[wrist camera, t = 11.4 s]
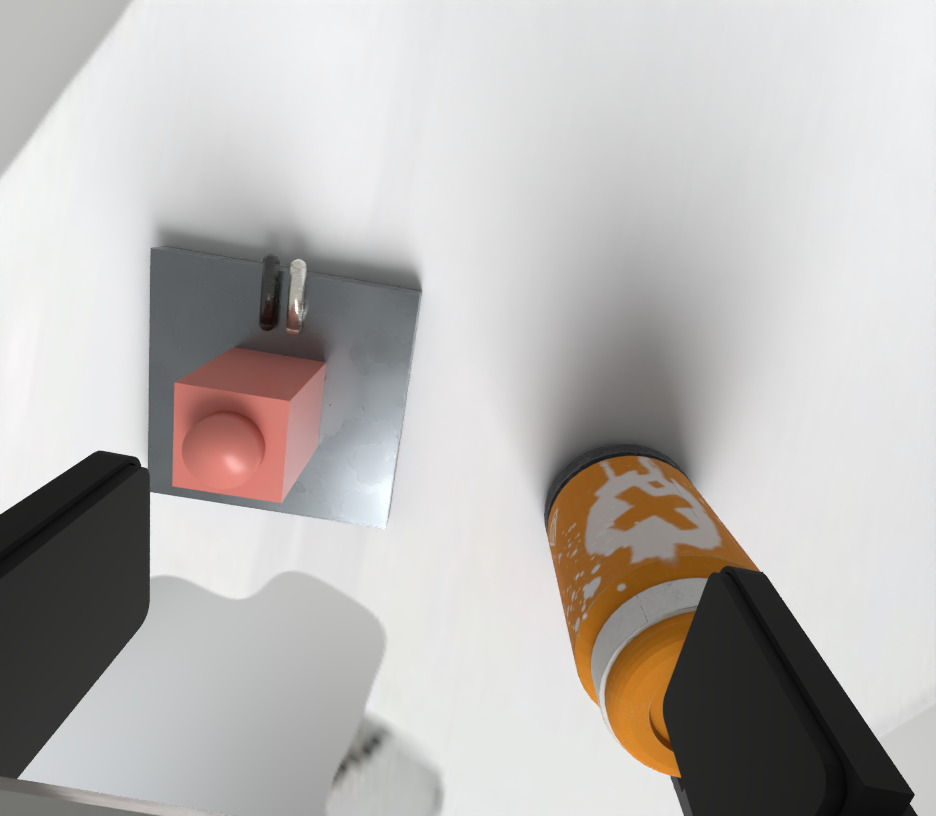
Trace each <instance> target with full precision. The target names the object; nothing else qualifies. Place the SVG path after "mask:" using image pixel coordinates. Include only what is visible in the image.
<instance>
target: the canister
mask: <svg viewBox="0 0 936 816" xmlns="http://www.w3.org/2000/svg"><path fill="white" fill-rule="evenodd" d="M544 516H545V527H546V532H547V536H548V541H549V545H550V550H551V554H552V559H553V564H554V568H555V573H556V577H557V582H558V586H559V591H560V596H561V600H562V605H563V609H564V614H565V618H566V623H567V627H568V632H569V637H570V641H571V646H572V650H573V655H574V659H575V664H576V668H577V672H578V676H579V678H580V681H581V683H582V685H583V687H584V689H585V690H586V692H587V693H588V695H589V696H590V698H591V699H592V700H593V701H594V702H595V703H596V704H597V705H598V706H599V707H600V710H601V714H602V717H603V720H604V722H605V724H606V726H607V728H608V730H609V731H610V733H611V734H612V736H613V737H614V739H615V740H616V741H617V742H618V743H619V744H620V745H621V746H622V747H623V748H624V749H626V750H627V751H628V752H629V753H630V754H631V755H632V756H633V757H634V758H636V759H637V760H638V761H640V762H641V763H643V764H644V765H646V766H648V767H650V768H652V769H654V770H656V771H658V772H661V773H664V774H667V775H670V776H671V780H672V782H673V785H674V789H675V791H676V794H677V796H678V799H679V802H680V805H681V808H682V811H683V814H684V816H693V815H692V811H691V808H690V805H689V801H688V798H687V795H686V792H685V788H684V785H683V782H682V778H681V775H680V772H679V769H678V765H677V762H676V759H675V755H674V752H673V749H672V746H671V742H670V739H669V736H668V732H667V729H666V726H665V723H664V718H663V699H664V696H665V693H666V690H667V687H668V684H669V682H670V679H671V676H672V674H673V671H674V668H675V666H676V663H677V660H678V657H679V655H680V652H681V649H682V647H683V644H684V641H685V639H686V636H687V633H688V631H689V628H690V625H691V622H692V620H693V617H694V614H695V612H696V609H697V606H698V604H699V601H700V598H701V596H702V593H703V590H704V587H705V585H706V582H707V580H708V578H709V576H710V575H711V573H713V572H717V573H719V572H720V571H721V569H722V568H723V567H725V566H733V567H738V568H744V569H749V570H755V571H759V569H758V568H757V567H756V565H755V564H754V563H753V562H752V560H751V559H750V558H749V556H748V555H747V554H746V553H745V551H744V550H743V549H742V547H741V546H740V545H739V543H738V542H737V541H736V540H735V538H734V537H733V536H732V534H731V533H730V532H729V531H728V529H727V528H726V527H725V525H724V524H723V523H722V522H721V520H720V519H719V518H718V516H717V515H716V514H715V513H714V511H713V510H712V509H711V507H710V506H709V505H708V504H707V502H706V501H705V500H704V498H703V497H702V496H701V495H700V493H699V492H698V491H697V489H696V488H695V487H694V486H693V484H692V483H691V482H690V480H689V479H688V478H687V477H686V475H685V474H684V473H683V471H682V470H681V469H680V468H679V467H678V465H676V464H675V463H674V462H673V461H672V460H671V459H669V458H668V457H666V456H665V455H663V454H661V453H660V452H657V451H655V450H652V449H650V448H647V447H642V446H637V445H625V444H623V445H611V446H607V447H603V448H599V449H596V450H594V451H591V452H588V453H587V454H585V455H583V456H581V457H579V458H578V459H576V460H575V461H574V462H572V463H571V464H570V465H569V466H568V467H567V468H566V469H565V470H564V471H563V472H562V473H561V474H560V475H559V477H558V478H557V479H556V481H555V482H554V484H553V486H552V488H551V490H550V492H549V494H548V498H547V501H546V505H545V514H544Z"/></svg>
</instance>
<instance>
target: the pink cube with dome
mask: <svg viewBox="0 0 936 816" xmlns="http://www.w3.org/2000/svg"><path fill="white" fill-rule="evenodd" d="M325 369H326V362H321V361H315V360H309V359H303V358H297V357H291V356H284V355H278V354H272V353H266V352H260V351H254V350H248V349H242V348H236V347H233V348H232V349H230V350H228V351H227V352H225V353H223V354H222V355H220V356H218V357H217V358H215V359H213V360H212V361H210V362H208V363H207V364H205V365H203V366H202V367H200V368H198V369H197V370H195V371H193V372H191V373H190V374H188V375H186V376H185V377H183V378H181V379H180V380H178V381H176V382H175V385H174V432H173V479H172V486H174V487H180V488H187V489H193V490H200V491H206V492H213V493H219V494H225V495H232V496H238V497H245V498H251V499H258V500H264V501H271V502H277V503H282V502H283V500H284V498H285V497H286V495H287V494H288V492H289V491H290V489H291V488H292V486H293V484H294V483H295V481H296V480H297V478H298V477H299V475H300V474H301V472H302V470H303V469H304V467H305V466H306V464H307V463H308V461H309V460H310V458H311V456H312V455H313V453H314V452H315V450H316V449H317V447H318V439H319V429H320V419H321V409H322V399H323V389H324V379H325Z"/></svg>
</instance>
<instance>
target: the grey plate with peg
mask: <svg viewBox="0 0 936 816" xmlns="http://www.w3.org/2000/svg"><path fill="white" fill-rule="evenodd" d="M306 270H307V266H306V263H305V262H304V261H303V260H301V259H295V260H293V261H292V263H291V266H290V268H287V267H282V266H279V259H278V257H277V256H275V255H273V254H268V255H266V256H265V257H264V259H263V263H259V262H253V261H247V260H241V259H236V258H230V257H224V256H218V255H213V254H207V253H201V252H195V251H190V250H184V249H178V248H172V247H167V246H162V247H154V248H151V265H150V348H149V432H148V471H149V474H150V492H154V493H160V494H167V495H173V496H179V497H186V498H192V499H199V500H205V501H211V502H218V503H224V504H230V505H237V506H243V507H249V508H256V509H262V510H269V511H275V512H281V513H288V514H294V515H300V516H307V517H313V518H320V519H326V520H332V521H339V522H345V523H351V524H358V525H364V526H370V527H377V528H383V529H386V525H387V522H388V518H389V512H390V506H391V499H392V492H393V485H394V479H395V472H396V465H397V458H398V452H399V445H400V438H401V431H402V424H403V418H404V411H405V404H406V397H407V391H408V384H409V377H410V370H411V364H412V357H413V350H414V343H415V336H416V330H417V323H418V316H419V309H420V303H421V296H422V291H419V290H413V289H408V288H402V287H396V286H391V285H385V284H379V283H373V282H368V281H362V280H356V279H350V278H345V277H339V276H333V275H327V274H322V273H316V272H310V271H306ZM233 347H236V348H242V349H248V350H254V351H260V352H266V353H272V354H278V355H284V356H291V357H297V358H303V359H309V360H315V361H321V362H326V369H325V379H324V389H323V399H322V409H321V419H320V429H319V439H318V447H317V449H316V450H315V452H314V453H313V455H312V456H311V458H310V460H309V461H308V463H307V464H306V466H305V467H304V469H303V470H302V472H301V474H300V475H299V477H298V478H297V480H296V481H295V483H294V484H293V486H292V488H291V489H290V491H289V492H288V494H287V495H286V497H285V498H284V500H283V502H282V503H277V502H271V501H264V500H258V499H251V498H245V497H238V496H232V495H225V494H219V493H213V492H206V491H200V490H193V489H187V488H180V487H174V486H172V479H173V432H174V385H175V382H176V381H178V380H180V379H181V378H183V377H185V376H186V375H188V374H190V373H191V372H193V371H195V370H197V369H198V368H200V367H202V366H203V365H205V364H207V363H208V362H210V361H212V360H213V359H215V358H217V357H218V356H220V355H222V354H223V353H225V352H227V351H228V350H230V349H232V348H233Z"/></svg>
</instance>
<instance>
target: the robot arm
mask: <svg viewBox="0 0 936 816" xmlns="http://www.w3.org/2000/svg"><path fill="white" fill-rule="evenodd" d="M149 602H150V474H149V471H148V469H147V468H144V467H141V464H140V461H139V459H138V458H136V457H133V456H128V455H122V454H117V453H112V452H106V451H97V452H94V453H93V454H91V455H90V456H88V457H87V458H85V459H84V460H82V461H81V462H79V463H78V464H76V465H75V466H73V467H72V468H70V469H69V470H67V471H65V472H64V473H62V474H61V475H59V476H58V477H56V478H55V479H53V480H52V481H50V482H49V483H47V484H46V485H44V486H43V487H41V488H40V489H38V490H37V491H35V492H34V493H32V494H31V495H29V496H28V497H26V498H25V499H23V500H22V501H20V502H19V503H17V504H16V505H14V506H13V507H11V508H10V509H8V510H6V511H5V512H3V513H2V514H0V816H233V815H228V814H222V813H216V812H209V811H204V810H198V809H192V808H185V807H180V806H174V805H168V804H162V803H157V802H151V801H145V800H139V799H133V798H127V797H121V796H115V795H109V794H103V793H98V792H92V791H85V790H80V789H73V788H68V787H62V786H56V785H49V784H44V783H38V782H32V781H26V780H19V779H17V778H18V777H19V776H20V774H21V773H22V772H23V771H24V769H25V768H26V767H27V766H28V764H29V763H30V762H31V761H32V760H33V759H34V757H35V756H36V755H37V753H38V752H39V751H40V750H41V749H42V747H43V746H44V745H45V744H46V742H47V741H48V740H49V739H50V738H51V736H52V735H53V734H54V733H55V731H56V730H57V729H58V728H59V727H60V725H61V724H62V723H63V722H64V720H65V719H66V718H67V717H68V715H69V714H70V713H71V712H72V711H73V709H74V708H75V707H76V706H77V704H78V703H79V702H80V701H81V699H82V698H83V697H84V696H85V695H86V693H87V692H88V691H89V690H90V688H91V687H92V686H93V685H94V683H95V682H96V681H97V680H98V679H99V677H100V676H101V675H102V674H103V672H104V671H105V670H106V669H107V667H108V666H109V665H110V664H111V663H112V661H113V660H114V659H115V658H116V656H117V655H118V654H119V653H120V651H121V650H122V649H123V648H124V647H125V645H126V644H127V643H128V642H129V640H130V639H131V638H132V637H133V636H134V634H135V633H136V632H137V631H138V629H139V628H140V627H141V625H142V624H143V622H144V620H145V618H146V616H147V613H148V609H149ZM663 718H664V723H665V726H666V729H667V732H668V736H669V739H670V742H671V746H672V749H673V752H674V755H675V759H676V762H677V765H678V769H679V772H680V775H681V778H682V782H683V785H684V788H685V792H686V795H687V798H688V801H689V805H690V808H691V811H692V815H693V816H918V815H917V814H916V813H915V811H914V810H913V808H912V806H911V805H910V802H911V800H912V799H913V797H914V795H915V794H914V793H913V791H912V790H911V788H910V787H909V785H908V784H907V782H906V781H905V780H904V778H903V777H902V775H901V774H900V772H899V771H898V769H897V768H896V766H895V765H894V764H893V762H892V760H891V759H890V757H889V756H888V755H887V753H886V751H885V750H884V749H883V747H882V746H881V744H880V743H879V741H878V740H877V738H876V737H875V735H874V734H873V732H872V731H871V729H870V728H869V726H868V725H867V723H866V722H865V721H864V719H863V718H862V716H861V715H860V713H859V712H858V710H857V709H856V707H855V706H854V704H853V703H852V701H851V700H850V698H849V697H848V695H847V694H846V692H845V691H844V690H843V688H842V687H841V685H840V684H839V682H838V681H837V679H836V678H835V676H834V675H833V673H832V672H831V670H830V669H829V667H828V666H827V664H826V663H825V662H824V660H823V659H822V657H821V656H820V654H819V653H818V651H817V650H816V648H815V647H814V645H813V644H812V642H811V641H810V639H809V638H808V636H807V635H806V634H805V632H804V631H803V629H802V628H801V626H800V625H799V623H798V622H797V620H796V619H795V617H794V616H793V614H792V613H791V611H790V610H789V608H788V607H787V606H786V604H785V603H784V601H783V600H782V598H781V597H780V595H779V594H778V592H777V591H776V589H775V588H774V586H773V585H772V583H771V582H770V580H769V579H768V578H767V576H766V575H765V574H764V573H763V572H760V571H755V570H749V569H744V568H738V567H733V566H725V567H723V568H722V569H721V571H720V572H719V573H717V572H713V573H711V575H710V576H709V578H708V580H707V582H706V585H705V587H704V590H703V593H702V596H701V598H700V601H699V604H698V606H697V609H696V612H695V614H694V617H693V620H692V622H691V625H690V628H689V631H688V633H687V636H686V639H685V641H684V644H683V647H682V649H681V652H680V655H679V657H678V660H677V663H676V666H675V668H674V671H673V674H672V676H671V679H670V682H669V684H668V687H667V690H666V693H665V696H664V699H663Z"/></svg>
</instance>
